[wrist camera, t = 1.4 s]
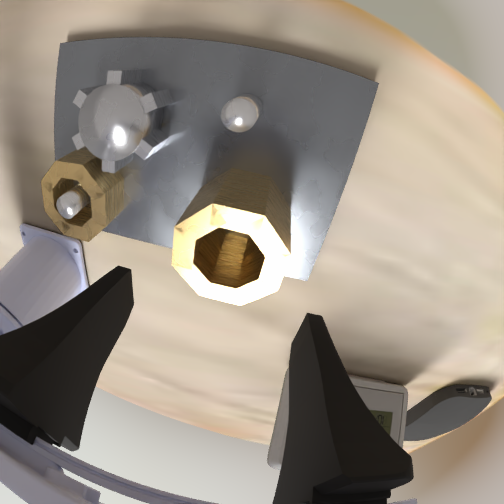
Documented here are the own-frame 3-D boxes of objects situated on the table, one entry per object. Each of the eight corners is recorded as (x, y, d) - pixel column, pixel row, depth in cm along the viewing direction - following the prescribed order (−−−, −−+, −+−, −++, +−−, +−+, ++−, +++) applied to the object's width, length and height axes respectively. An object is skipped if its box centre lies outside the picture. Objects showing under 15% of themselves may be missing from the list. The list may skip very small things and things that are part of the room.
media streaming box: (380, 426, 38) (382, 442, 35) (444, 380, 29) (449, 399, 27) (438, 427, 39) (440, 440, 36) (495, 384, 31) (500, 399, 28)
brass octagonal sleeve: (274, 259, 20) (270, 312, 16) (194, 239, 20) (170, 287, 16) (298, 183, 17) (301, 224, 13) (205, 162, 17) (177, 195, 13)
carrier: (306, 274, 22) (308, 313, 18) (66, 215, 21) (38, 240, 18) (374, 82, 14) (398, 86, 10) (67, 43, 13) (28, 45, 10)
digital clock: (412, 383, 29) (426, 461, 21) (360, 413, 34) (364, 482, 25) (312, 341, 26) (313, 451, 17) (260, 381, 31) (249, 469, 22)
